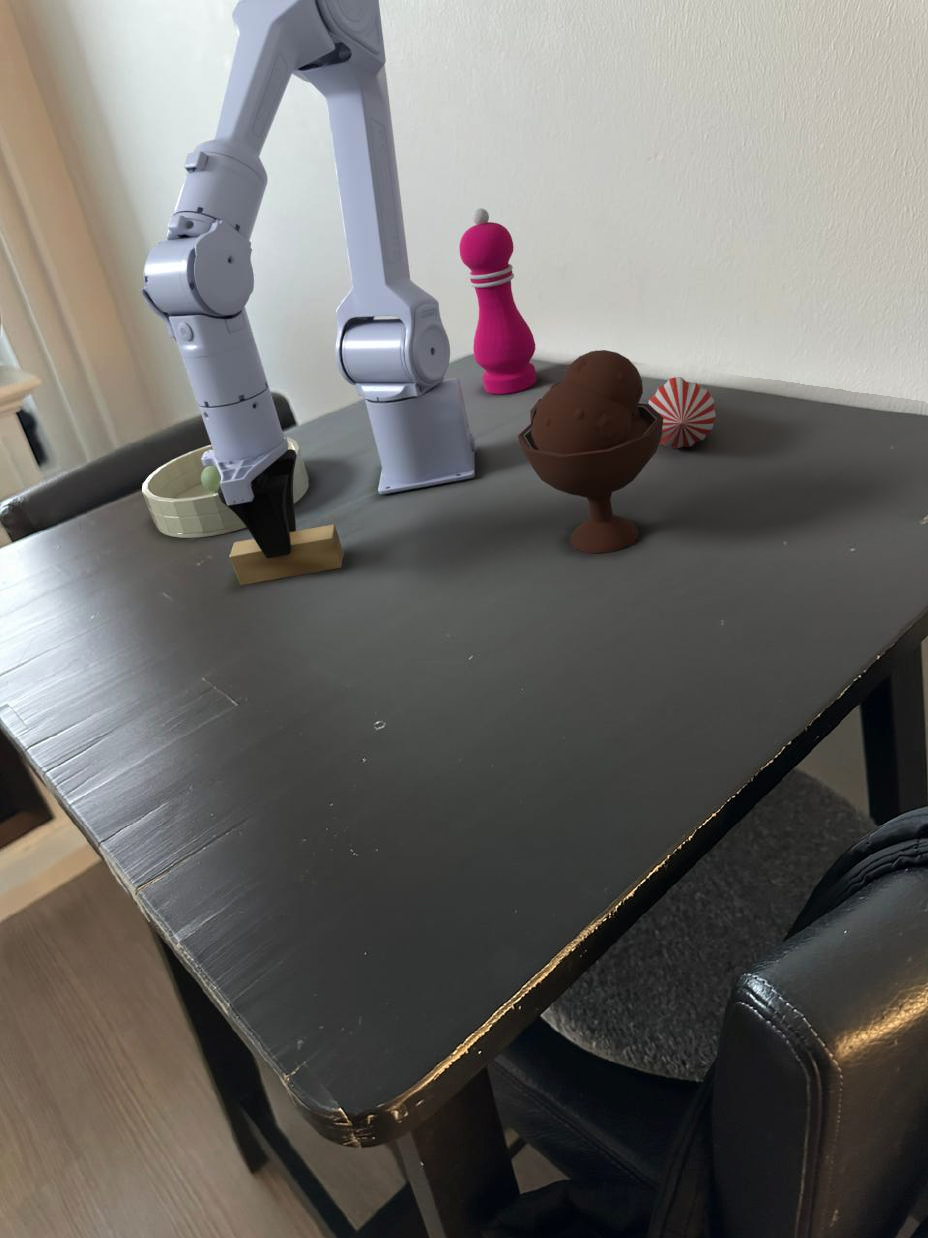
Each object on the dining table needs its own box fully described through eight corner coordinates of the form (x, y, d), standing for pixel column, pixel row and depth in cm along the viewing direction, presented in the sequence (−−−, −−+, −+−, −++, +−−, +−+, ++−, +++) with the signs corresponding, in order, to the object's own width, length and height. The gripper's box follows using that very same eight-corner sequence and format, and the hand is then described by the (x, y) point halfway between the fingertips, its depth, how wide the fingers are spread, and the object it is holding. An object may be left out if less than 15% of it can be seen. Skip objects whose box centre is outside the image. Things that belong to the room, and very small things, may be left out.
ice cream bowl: (592, 499, 89) (568, 328, 82) (701, 521, 82) (684, 336, 74) (510, 552, 84) (476, 374, 76) (618, 581, 76) (592, 387, 69)
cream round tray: (318, 458, 112) (308, 424, 110) (297, 520, 98) (285, 482, 96) (177, 485, 114) (165, 451, 112) (136, 549, 100) (122, 512, 98)
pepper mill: (476, 399, 119) (441, 220, 109) (485, 379, 125) (452, 208, 115) (537, 391, 118) (507, 208, 108) (544, 371, 124) (515, 196, 114)
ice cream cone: (690, 440, 108) (698, 472, 89) (635, 414, 108) (632, 440, 89) (719, 385, 105) (734, 406, 87) (663, 358, 106) (666, 374, 87)
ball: (233, 466, 109) (225, 469, 106) (229, 492, 109) (221, 495, 107) (208, 461, 109) (199, 463, 106) (204, 487, 110) (195, 489, 107)
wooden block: (343, 553, 90) (334, 523, 88) (341, 567, 88) (332, 537, 86) (244, 570, 90) (234, 542, 89) (240, 585, 88) (229, 556, 87)
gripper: (205, 376, 88) (251, 519, 94) (161, 435, 75) (218, 595, 82) (284, 361, 87) (326, 505, 94) (253, 417, 74) (304, 580, 81)
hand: (281, 546), depth 88 cm, fingers closed on wooden block, 2 cm apart
